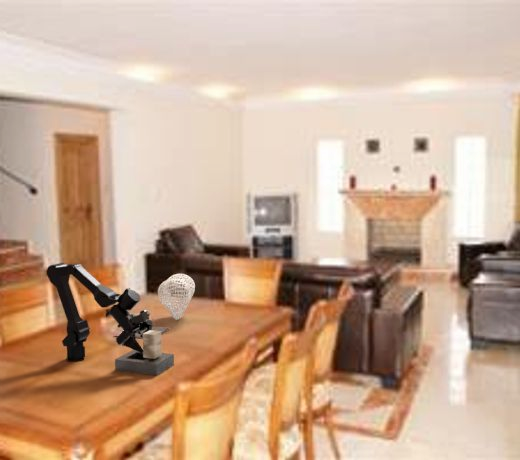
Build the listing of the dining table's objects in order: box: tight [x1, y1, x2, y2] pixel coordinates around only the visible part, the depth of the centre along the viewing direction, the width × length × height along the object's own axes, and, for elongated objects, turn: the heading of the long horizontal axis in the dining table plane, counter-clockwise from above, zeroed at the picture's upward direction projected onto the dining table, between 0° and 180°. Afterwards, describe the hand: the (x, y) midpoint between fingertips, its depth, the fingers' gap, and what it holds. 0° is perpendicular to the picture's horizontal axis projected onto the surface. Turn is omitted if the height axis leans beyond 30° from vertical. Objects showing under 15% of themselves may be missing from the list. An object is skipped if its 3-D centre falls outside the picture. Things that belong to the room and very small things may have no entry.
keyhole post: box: [142, 330, 163, 360], centre depth 223 cm, size 6×6×13 cm
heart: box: [157, 273, 196, 321], centre depth 297 cm, size 28×16×22 cm, turn 175°
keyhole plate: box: [114, 349, 175, 376], centre depth 225 cm, size 18×13×4 cm
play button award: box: [135, 326, 170, 339], centre depth 274 cm, size 16×2×20 cm
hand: (148, 348), depth 224 cm, fingers open, 9 cm apart
